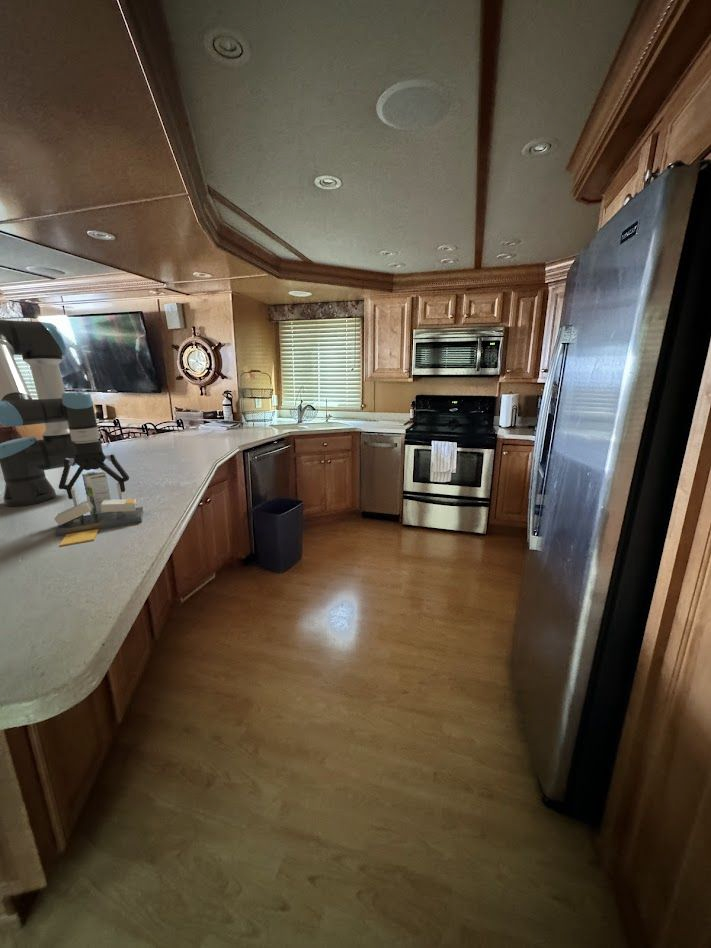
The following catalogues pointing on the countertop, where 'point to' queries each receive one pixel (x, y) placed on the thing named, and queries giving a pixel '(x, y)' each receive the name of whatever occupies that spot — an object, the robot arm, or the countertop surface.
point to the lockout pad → (79, 537)
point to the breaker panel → (100, 521)
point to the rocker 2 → (118, 505)
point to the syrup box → (96, 489)
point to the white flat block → (73, 512)
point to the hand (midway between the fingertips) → (100, 504)
